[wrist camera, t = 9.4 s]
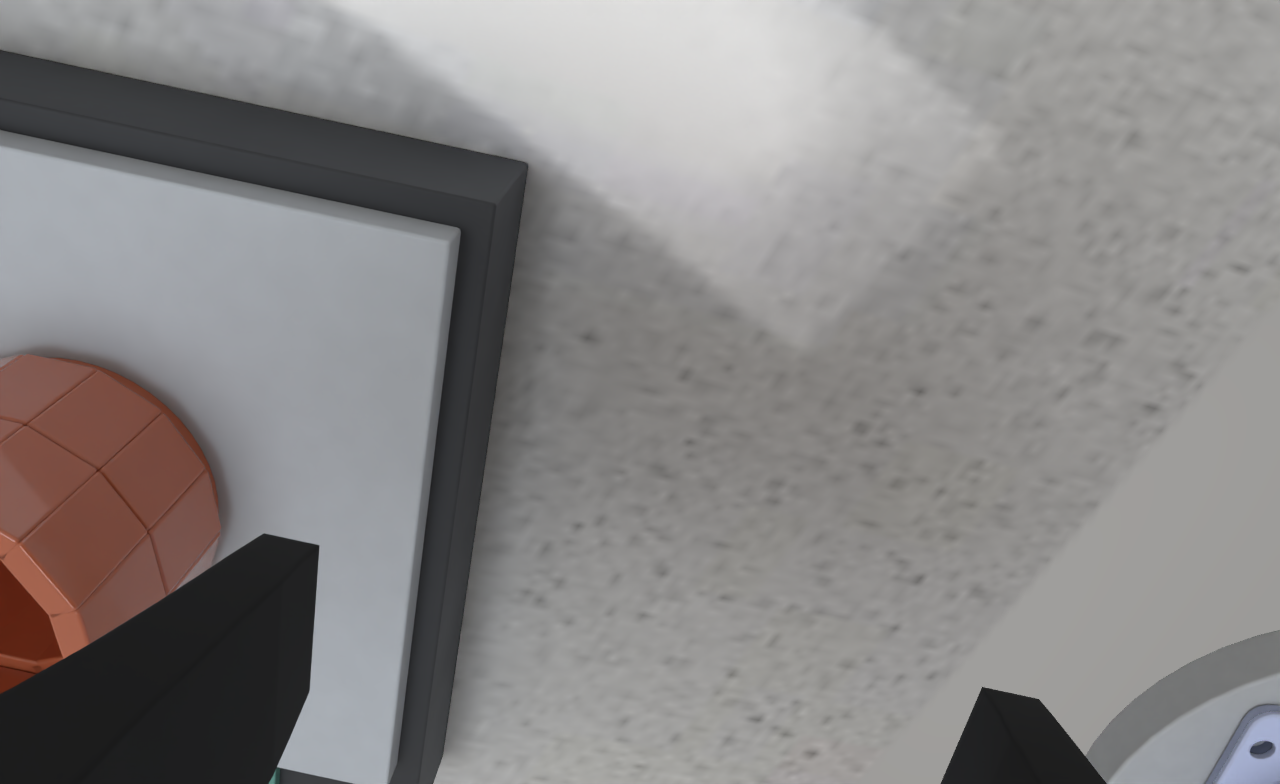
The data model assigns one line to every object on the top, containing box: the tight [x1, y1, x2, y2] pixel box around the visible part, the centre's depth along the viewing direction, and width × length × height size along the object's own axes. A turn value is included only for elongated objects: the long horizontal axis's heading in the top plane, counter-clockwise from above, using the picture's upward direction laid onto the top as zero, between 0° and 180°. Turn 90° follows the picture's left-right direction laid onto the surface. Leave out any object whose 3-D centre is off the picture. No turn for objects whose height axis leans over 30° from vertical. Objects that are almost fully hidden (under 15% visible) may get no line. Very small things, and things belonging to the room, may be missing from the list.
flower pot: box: [0, 354, 221, 694], centre depth 17 cm, size 5×6×4 cm
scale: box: [0, 51, 528, 784], centre depth 22 cm, size 15×13×4 cm
